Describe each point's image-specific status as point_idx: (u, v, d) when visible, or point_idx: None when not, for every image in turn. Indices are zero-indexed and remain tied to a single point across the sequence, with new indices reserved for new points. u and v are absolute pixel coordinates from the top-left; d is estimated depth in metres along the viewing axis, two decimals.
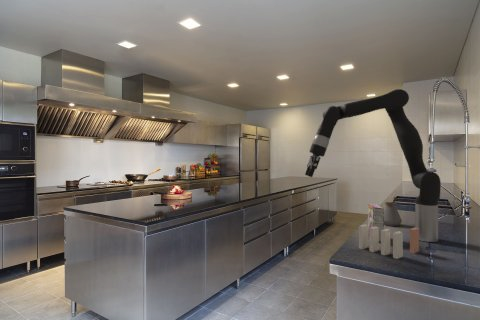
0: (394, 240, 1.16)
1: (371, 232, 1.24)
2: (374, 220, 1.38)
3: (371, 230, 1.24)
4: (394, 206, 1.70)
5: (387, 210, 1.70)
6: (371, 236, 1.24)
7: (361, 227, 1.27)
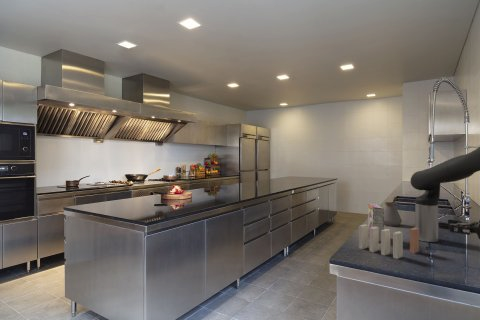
0: (394, 240, 1.16)
1: (371, 232, 1.24)
2: (374, 220, 1.38)
3: (371, 230, 1.24)
4: (394, 206, 1.70)
5: (387, 210, 1.70)
6: (371, 236, 1.24)
7: (361, 227, 1.27)
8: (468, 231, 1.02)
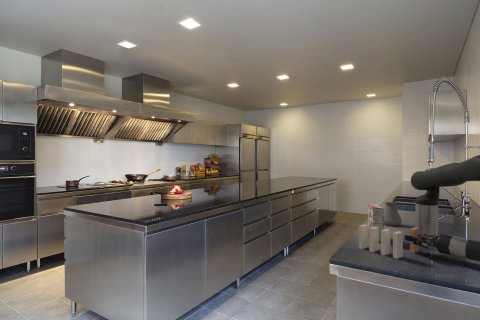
0: (394, 240, 1.16)
1: (371, 232, 1.24)
2: (374, 220, 1.38)
3: (371, 230, 1.24)
4: (394, 206, 1.70)
5: (387, 210, 1.70)
6: (371, 236, 1.24)
7: (361, 227, 1.27)
8: (425, 244, 1.13)
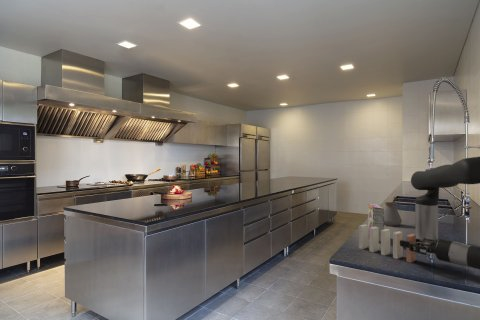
0: (394, 240, 1.16)
1: (371, 232, 1.24)
2: (374, 220, 1.38)
3: (371, 230, 1.24)
4: (394, 206, 1.70)
5: (387, 210, 1.70)
6: (371, 236, 1.24)
7: (361, 227, 1.27)
8: (424, 251, 1.03)
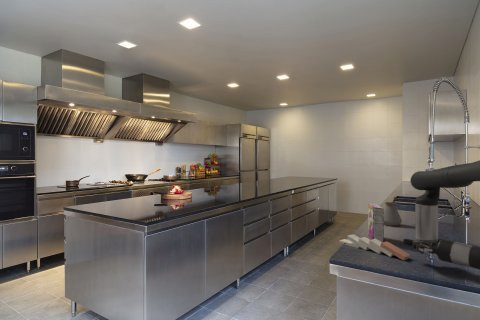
0: (375, 245, 1.23)
1: (350, 238, 1.32)
2: (374, 220, 1.38)
3: (348, 237, 1.33)
4: (394, 206, 1.70)
5: (387, 210, 1.70)
6: (353, 240, 1.31)
7: (340, 241, 1.37)
8: (421, 250, 1.04)
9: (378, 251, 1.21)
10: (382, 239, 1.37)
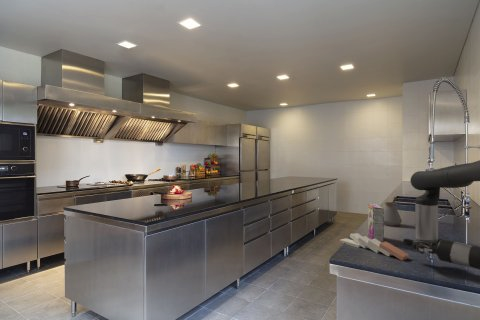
0: (373, 245, 1.23)
1: (352, 236, 1.35)
2: (374, 220, 1.38)
3: (351, 235, 1.36)
4: (394, 206, 1.70)
5: (387, 210, 1.70)
6: (354, 238, 1.33)
7: (340, 240, 1.38)
8: (421, 250, 1.04)
9: (376, 250, 1.22)
10: (382, 239, 1.37)
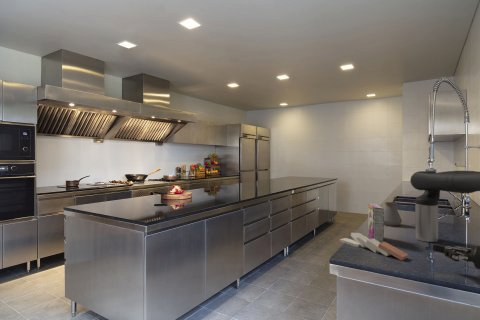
0: (372, 245, 1.23)
1: (353, 235, 1.36)
2: (374, 220, 1.38)
3: (352, 234, 1.37)
4: (394, 206, 1.70)
5: (387, 210, 1.70)
6: (355, 237, 1.34)
7: (340, 240, 1.38)
8: (455, 257, 0.96)
9: (374, 250, 1.23)
10: (382, 239, 1.37)
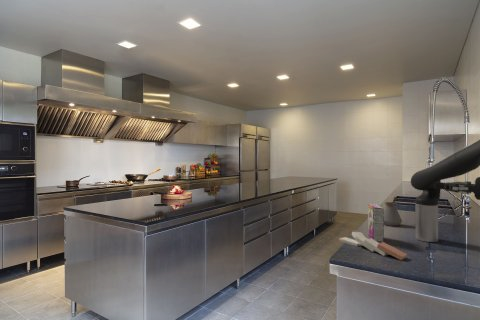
0: (369, 245, 1.24)
1: (353, 234, 1.38)
2: (374, 220, 1.38)
3: (352, 233, 1.39)
4: (394, 206, 1.70)
5: (387, 210, 1.70)
6: (354, 236, 1.37)
7: (339, 239, 1.40)
8: (455, 188, 0.95)
9: (372, 249, 1.24)
10: (382, 239, 1.37)
